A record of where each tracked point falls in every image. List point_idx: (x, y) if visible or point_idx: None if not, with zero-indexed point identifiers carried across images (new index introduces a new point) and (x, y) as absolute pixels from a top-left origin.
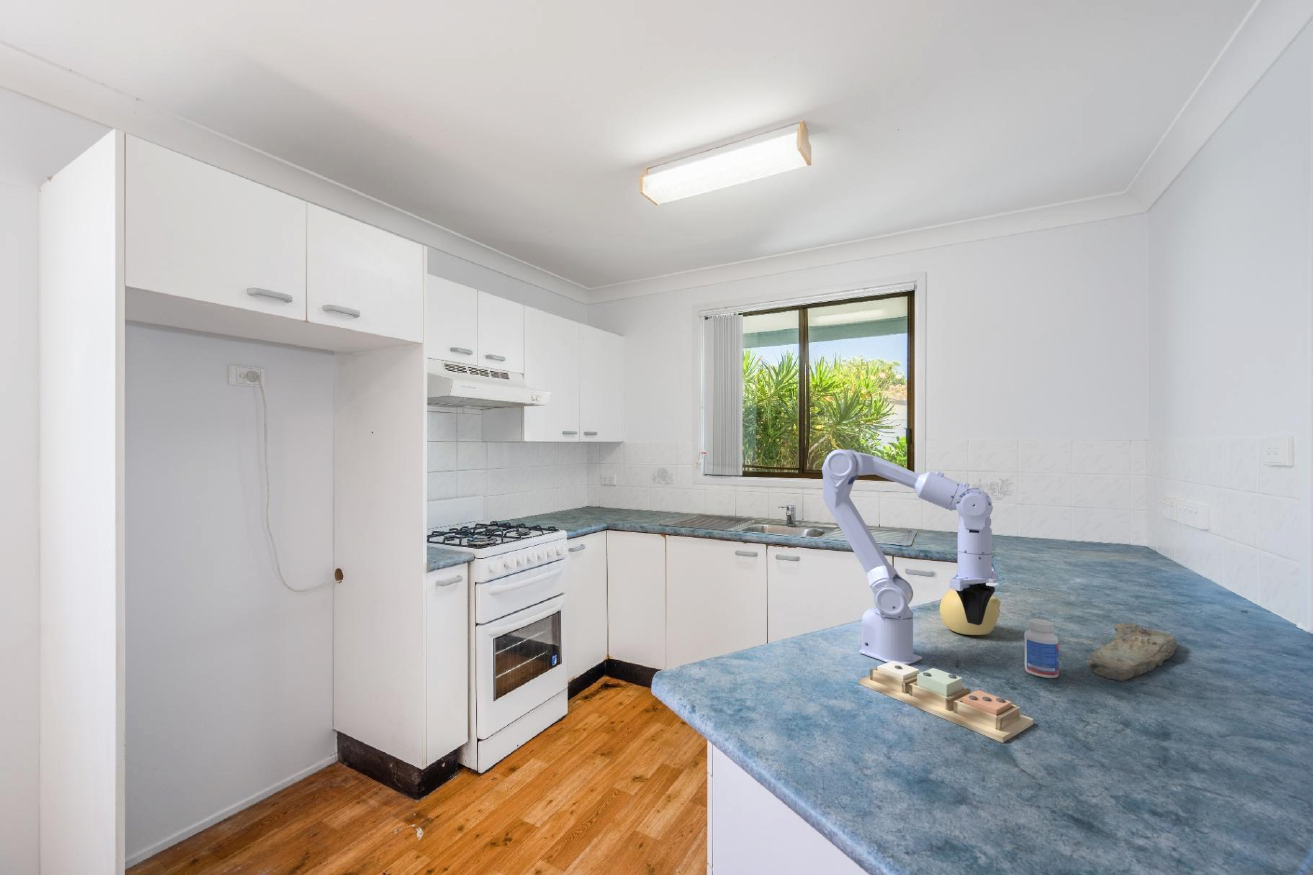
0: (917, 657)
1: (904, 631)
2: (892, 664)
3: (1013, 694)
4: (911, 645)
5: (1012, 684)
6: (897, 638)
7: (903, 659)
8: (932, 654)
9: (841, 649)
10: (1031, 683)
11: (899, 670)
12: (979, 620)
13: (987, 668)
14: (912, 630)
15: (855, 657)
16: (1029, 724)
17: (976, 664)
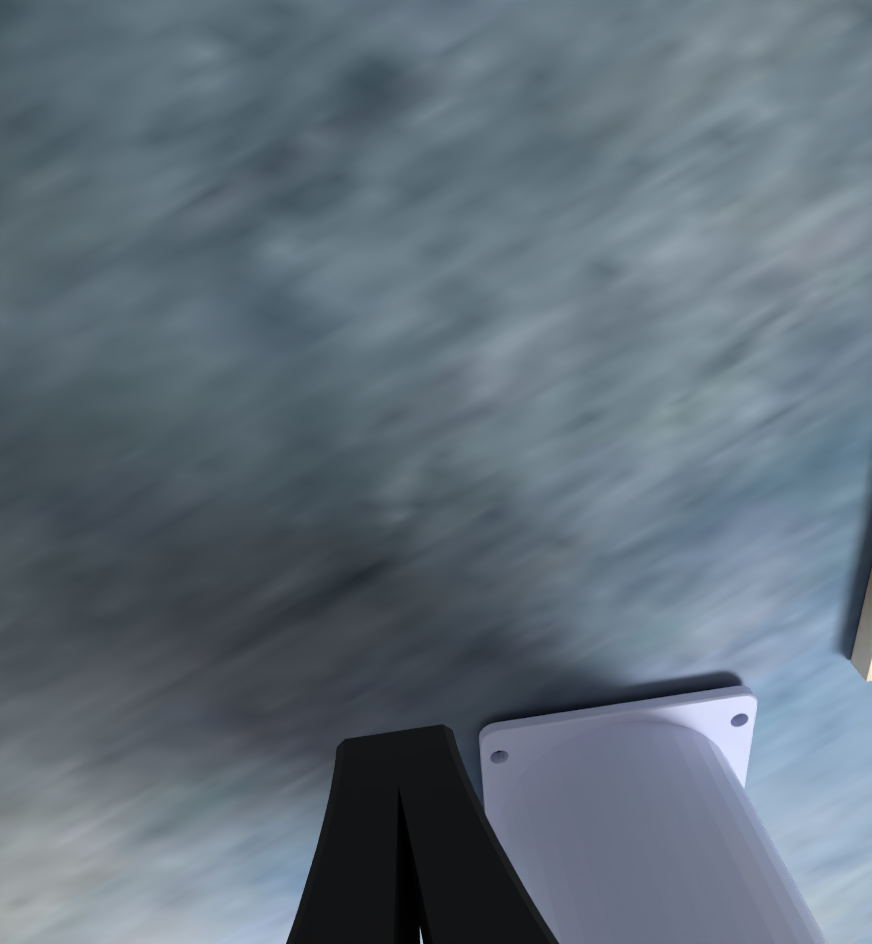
0: (523, 741)
1: (768, 922)
2: None
3: (526, 2)
4: (637, 812)
5: (296, 149)
6: (781, 879)
7: (684, 735)
8: (315, 759)
9: None
10: (82, 65)
11: None
12: (464, 772)
13: (160, 462)
14: (654, 928)
15: (792, 847)
16: None
17: (171, 545)
